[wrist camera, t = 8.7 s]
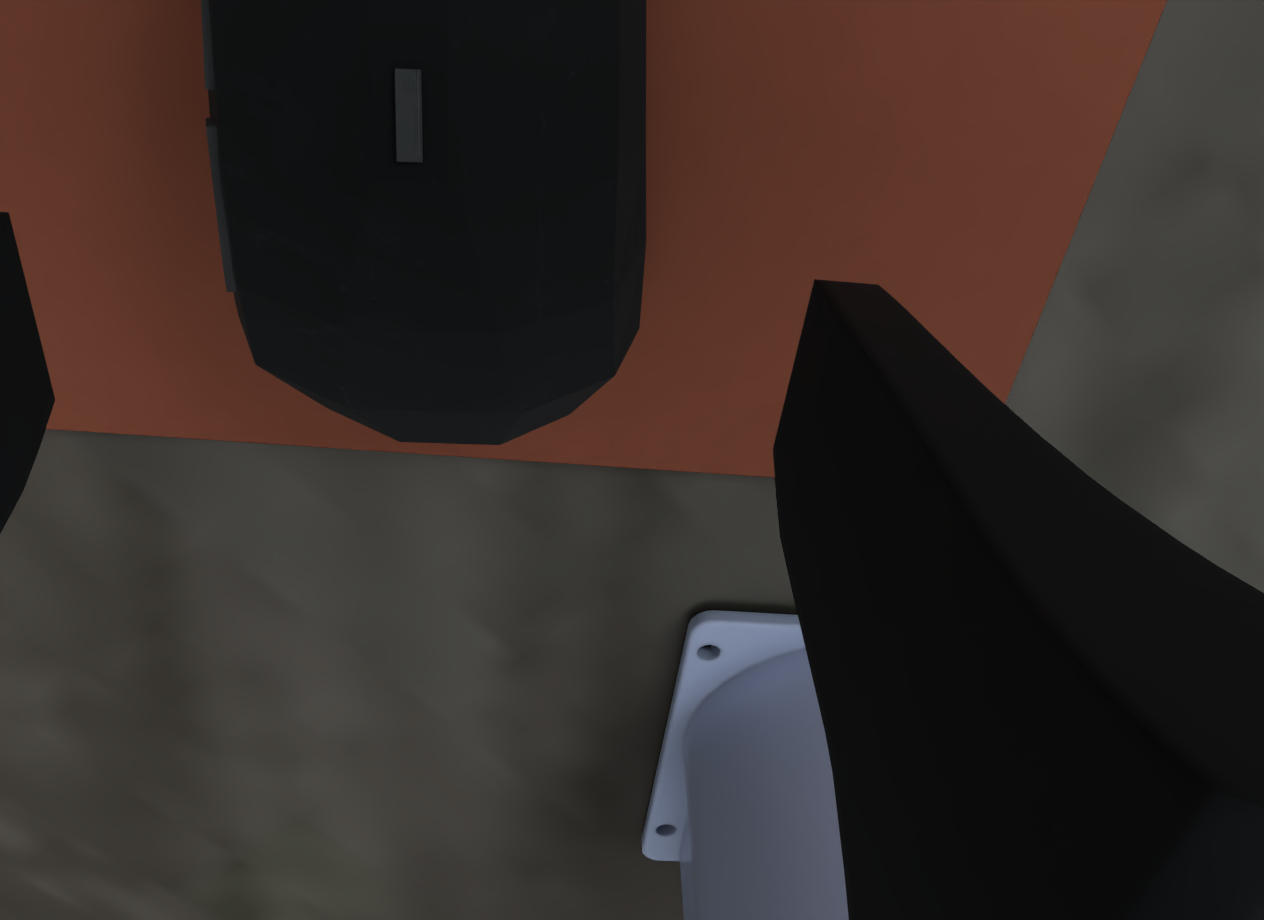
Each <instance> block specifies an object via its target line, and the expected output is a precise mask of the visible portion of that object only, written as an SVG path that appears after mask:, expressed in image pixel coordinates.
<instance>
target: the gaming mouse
mask: <svg viewBox="0 0 1264 920" xmlns="http://www.w3.org/2000/svg"><path fill="white" fill-rule="evenodd" d="M201 13H202V34H203V55H204V76H205V89H208V99H209V114H210V118H206V133H207V142H208V150H209V158H210V166H211V174H212V182H213V191H214V199H215V207H216V215H217V223H218V232H219V240H220V248H221V256H222V263H223V271H224V278H225V285H226V289H227V292H233V294H234V298H235V303H236V307H237V312H238V316H239V319H240V322H241V325H242V328H243V330H244V333H245V336H246V339H247V342H248V345H249V348H250V351H251V353H252V356H253V359H254V362H255V365H257V366H258V367H260V368H262V369H263V370H265V371H267V372H268V373H270V374H272V375H273V376H275V377H276V378H278V379H280V380H281V381H283V382H285V383H286V384H288V385H290V386H291V387H293V388H295V389H296V390H298V391H300V392H301V393H303V394H304V395H306V396H308V397H309V398H311V399H313V400H314V401H316V402H318V403H319V404H321V405H323V406H324V407H326V408H328V409H330V410H332V411H334V412H336V413H339V414H341V415H343V416H345V417H347V418H349V419H351V420H354V421H356V422H358V423H360V424H362V425H364V426H366V427H369V428H371V429H373V430H375V431H377V432H379V433H381V434H384V435H386V436H388V437H390V438H392V439H394V440H396V441H399V442H413V443H446V444H478V445H502V444H504V443H506V442H508V441H511V440H513V439H515V438H518V437H520V436H522V435H524V434H527V433H529V432H531V431H534V430H536V429H538V428H540V427H543V426H545V425H547V424H549V423H552V422H554V421H556V420H559V419H561V418H563V417H565V416H568V415H570V414H571V413H572V412H573V411H574V410H576V409H577V408H578V407H579V406H580V405H581V404H583V403H584V402H585V401H586V400H587V399H588V398H590V397H591V396H592V395H593V394H594V393H595V392H597V391H598V390H599V389H600V388H601V387H602V386H604V385H605V384H606V383H607V382H608V381H609V380H611V379H612V378H613V377H614V376H615V375H616V373H617V371H618V369H619V367H620V365H621V363H622V361H623V359H624V357H625V355H626V353H627V352H628V350H629V348H630V346H631V344H632V342H633V340H634V338H635V336H636V334H637V332H638V330H639V329H640V316H641V303H642V290H643V277H644V265H645V252H646V0H201Z"/></svg>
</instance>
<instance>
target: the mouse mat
mask: <svg viewBox="0 0 1264 920" xmlns="http://www.w3.org/2000/svg"><path fill="white" fill-rule="evenodd" d="M1166 2H1167V0H646V252H645V265H644V277H643V290H642V303H641V316H640V329H639V330H638V332H637V334H636V336H635V338H634V340H633V342H632V344H631V346H630V348H629V350H628V352H627V353H626V355H625V357H624V359H623V361H622V363H621V365H620V367H619V369H618V371H617V373H616V375H615V376H614V377H613V378H612V379H611V380H609V381H608V382H607V383H606V384H605V385H604V386H602V387H601V388H600V389H599V390H598V391H597V392H595V393H594V394H593V395H592V396H591V397H590V398H588V399H587V400H586V401H585V402H584V403H583V404H581V405H580V406H579V407H578V408H577V409H576V410H574V411H573V412H572V413H571V414H570V415H568V416H565V417H563V418H561V419H559V420H556V421H554V422H552V423H549V424H547V425H545V426H543V427H540V428H538V429H536V430H534V431H531V432H529V433H527V434H524V435H522V436H520V437H518V438H515V439H513V440H511V441H508V442H506V443H504V444H502V445H478V444H446V443H413V442H399V441H396V440H394V439H392V438H390V437H388V436H386V435H384V434H381V433H379V432H377V431H375V430H373V429H371V428H369V427H366V426H364V425H362V424H360V423H358V422H356V421H354V420H351V419H349V418H347V417H345V416H343V415H341V414H339V413H336V412H334V411H332V410H330V409H328V408H326V407H324V406H323V405H321V404H319V403H318V402H316V401H314V400H313V399H311V398H309V397H308V396H306V395H304V394H303V393H301V392H300V391H298V390H296V389H295V388H293V387H291V386H290V385H288V384H286V383H285V382H283V381H281V380H280V379H278V378H276V377H275V376H273V375H272V374H270V373H268V372H267V371H265V370H263V369H262V368H260V367H258V366H257V365H255V362H254V359H253V356H252V353H251V351H250V348H249V345H248V342H247V339H246V336H245V333H244V330H243V328H242V325H241V322H240V319H239V316H238V312H237V307H236V303H235V298H234V294H233V292H227V289H226V285H225V278H224V271H223V263H222V256H221V248H220V240H219V232H218V223H217V215H216V207H215V199H214V191H213V182H212V174H211V166H210V158H209V150H208V142H207V133H206V118H210V114H209V99H208V89H205V76H204V55H203V34H202V13H201V0H0V212H9V215H10V219H11V223H12V227H13V231H14V235H15V239H16V243H17V248H18V252H19V256H20V260H21V264H22V268H23V272H24V276H25V280H26V284H27V288H28V292H29V296H30V300H31V304H32V308H33V312H34V316H35V320H36V324H37V328H38V332H39V336H40V340H41V344H42V348H43V352H44V356H45V360H46V364H47V368H48V372H49V376H50V380H51V384H52V388H53V392H54V396H55V403H54V406H53V409H52V412H51V415H50V418H49V421H48V424H47V427H46V429H56V430H71V431H86V432H101V433H116V434H131V435H146V436H161V437H176V438H191V439H206V440H221V441H236V442H250V443H265V444H280V445H295V446H310V447H325V448H340V449H355V450H370V451H385V452H400V453H415V454H430V455H445V456H460V457H475V458H490V459H505V460H520V461H535V462H550V463H565V464H579V465H594V466H609V467H624V468H639V469H654V470H669V471H684V472H699V473H714V474H729V475H744V476H759V477H774V478H775V472H774V459H773V446H774V442H775V438H776V434H777V430H778V426H779V422H780V418H781V413H782V409H783V405H784V401H785V397H786V393H787V389H788V385H789V381H790V377H791V373H792V368H793V364H794V360H795V356H796V352H797V348H798V344H799V340H800V336H801V332H802V328H803V324H804V319H805V315H806V311H807V307H808V303H809V299H810V295H811V291H812V287H813V283H814V279H817V280H829V281H841V282H854V283H866V284H878V285H879V286H881V287H882V288H883V289H884V290H885V291H887V292H888V293H889V294H890V295H891V296H892V297H893V298H895V299H896V300H897V301H898V302H899V303H900V304H901V305H902V306H903V307H904V308H905V309H906V310H907V311H908V312H909V313H910V314H911V315H912V316H914V317H915V318H916V319H917V320H918V321H919V322H920V323H921V324H922V325H923V326H924V327H925V328H926V329H927V330H928V331H929V332H930V333H931V334H932V335H933V336H934V337H935V338H936V339H937V340H938V341H939V342H940V343H941V344H942V345H943V346H944V347H945V348H946V349H947V350H948V351H949V352H950V353H951V354H952V355H953V356H954V357H955V358H956V359H957V360H958V361H959V362H961V363H962V364H963V365H964V366H965V367H966V368H967V369H968V370H969V371H970V372H971V373H972V374H973V375H974V376H975V377H976V378H977V379H978V380H979V381H980V382H981V383H982V384H984V385H985V386H986V387H987V388H988V389H989V390H990V391H991V392H992V393H993V394H994V395H995V396H996V397H997V398H998V399H1000V400H1001V401H1002V402H1003V403H1004V404H1005V402H1006V400H1007V397H1008V395H1009V392H1010V390H1011V387H1012V385H1013V382H1014V380H1015V377H1016V375H1017V372H1018V370H1019V367H1020V365H1021V362H1022V360H1023V357H1024V355H1025V352H1026V350H1027V347H1028V345H1029V342H1030V340H1031V337H1032V335H1033V332H1034V330H1035V328H1036V325H1037V323H1038V320H1039V318H1040V315H1041V313H1042V310H1043V308H1044V305H1045V303H1046V300H1047V298H1048V295H1049V293H1050V290H1051V288H1052V285H1053V283H1054V280H1055V278H1056V275H1057V273H1058V270H1059V268H1060V265H1061V263H1062V260H1063V258H1064V255H1065V253H1066V251H1067V248H1068V246H1069V243H1070V241H1071V238H1072V236H1073V233H1074V231H1075V228H1076V226H1077V223H1078V221H1079V218H1080V216H1081V213H1082V211H1083V208H1084V206H1085V203H1086V201H1087V198H1088V196H1089V193H1090V191H1091V188H1092V186H1093V183H1094V181H1095V179H1096V176H1097V174H1098V171H1099V169H1100V166H1101V164H1102V161H1103V159H1104V156H1105V154H1106V151H1107V149H1108V146H1109V144H1110V141H1111V139H1112V136H1113V134H1114V131H1115V129H1116V126H1117V124H1118V121H1119V119H1120V116H1121V114H1122V111H1123V109H1124V106H1125V104H1126V102H1127V99H1128V97H1129V94H1130V92H1131V89H1132V87H1133V84H1134V82H1135V79H1136V77H1137V74H1138V72H1139V69H1140V67H1141V64H1142V62H1143V59H1144V57H1145V54H1146V52H1147V49H1148V47H1149V44H1150V42H1151V39H1152V37H1153V34H1154V32H1155V29H1156V27H1157V25H1158V22H1159V20H1160V17H1161V15H1162V12H1163V10H1164V7H1165V5H1166Z"/></svg>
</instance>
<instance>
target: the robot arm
mask: <svg viewBox="0 0 1264 920" xmlns="http://www.w3.org/2000/svg"><path fill="white" fill-rule="evenodd" d="M54 403H55V396H54V392H53V388H52V384H51V380H50V376H49V372H48V368H47V364H46V360H45V356H44V352H43V348H42V344H41V340H40V336H39V332H38V328H37V324H36V320H35V316H34V312H33V308H32V304H31V300H30V296H29V292H28V288H27V284H26V280H25V276H24V272H23V268H22V264H21V260H20V256H19V252H18V248H17V243H16V239H15V235H14V231H13V227H12V223H11V219H10V215H9V212H0V533H1V531H2V529H3V528H4V526H5V524H6V522H7V520H8V518H9V517H10V515H11V513H12V511H13V509H14V507H15V505H16V503H17V501H18V500H19V498H20V496H21V494H22V492H23V490H24V487H25V485H26V482H27V479H28V477H29V474H30V471H31V469H32V466H33V464H34V461H35V458H36V456H37V453H38V450H39V447H40V444H41V441H42V438H43V435H44V432H45V429H46V427H47V424H48V421H49V418H50V415H51V412H52V409H53V406H54ZM773 459H774V472H775V485H776V498H777V509H778V519H779V529H780V538H781V543H782V547H783V552H784V557H785V561H786V566H787V570H788V574H789V579H790V583H791V588H792V592H793V597H794V601H795V605H796V610H797V614H798V615H793V614H774V613H756V612H738V611H720V610H710V611H704V612H701V613H699V614H697V615H696V616H694V617H693V618H692V619H691V620H690V622H689V624H688V629H687V633H686V638H685V642H684V647H683V652H682V656H681V661H680V665H679V670H678V674H677V679H676V684H675V688H674V693H673V697H672V702H671V706H670V711H669V716H668V720H667V725H666V729H665V734H664V738H663V743H662V748H661V752H660V757H659V761H658V766H657V770H656V775H655V780H654V784H653V789H652V793H651V798H650V802H649V807H648V812H647V816H646V821H645V825H644V830H643V834H642V853H643V854H644V855H645V856H646V857H647V858H650V859H652V860H658V861H680V873H681V887H682V901H683V915H684V920H1264V593H1262V592H1261V591H1259V590H1257V589H1256V588H1254V587H1252V586H1250V585H1249V584H1247V583H1245V582H1244V581H1242V580H1240V579H1239V578H1237V577H1235V576H1234V575H1232V574H1230V573H1228V572H1227V571H1225V570H1223V569H1222V568H1220V567H1218V566H1217V565H1215V564H1214V563H1212V562H1211V561H1209V560H1207V559H1206V558H1204V557H1203V556H1201V555H1200V554H1198V553H1197V552H1195V551H1193V550H1192V549H1190V548H1189V547H1187V546H1186V545H1184V544H1183V543H1181V542H1180V541H1178V540H1177V539H1175V538H1174V537H1172V536H1171V535H1169V534H1168V533H1167V532H1165V531H1164V530H1162V529H1161V528H1160V527H1158V526H1157V525H1155V524H1154V523H1152V522H1151V521H1150V520H1148V519H1147V518H1145V517H1144V516H1142V515H1141V514H1140V513H1138V512H1137V511H1135V510H1134V509H1132V508H1131V507H1130V506H1128V505H1127V504H1125V503H1124V502H1123V501H1121V500H1120V499H1118V498H1117V497H1116V496H1114V495H1113V494H1112V493H1110V492H1109V491H1108V490H1106V489H1105V488H1104V487H1102V486H1101V485H1100V484H1099V483H1097V482H1096V481H1095V480H1093V479H1092V478H1091V477H1089V476H1088V475H1087V474H1086V473H1084V472H1083V471H1082V470H1081V469H1080V468H1078V467H1077V466H1076V465H1075V464H1074V463H1072V462H1071V461H1070V460H1069V459H1068V458H1066V457H1065V456H1064V455H1063V454H1062V453H1060V452H1059V451H1058V450H1057V449H1056V448H1054V447H1053V446H1052V445H1051V444H1049V443H1048V442H1047V441H1046V440H1045V439H1043V438H1042V437H1041V436H1040V435H1039V434H1037V433H1036V432H1035V431H1034V430H1033V429H1032V428H1031V427H1030V426H1028V425H1027V424H1026V423H1025V422H1024V421H1023V420H1022V419H1021V418H1019V417H1018V416H1017V415H1016V414H1015V413H1014V412H1013V411H1012V410H1010V409H1009V408H1008V407H1007V406H1006V405H1005V404H1004V403H1003V402H1002V401H1001V400H1000V399H998V398H997V397H996V396H995V395H994V394H993V393H992V392H991V391H990V390H989V389H988V388H987V387H986V386H985V385H984V384H982V383H981V382H980V381H979V380H978V379H977V378H976V377H975V376H974V375H973V374H972V373H971V372H970V371H969V370H968V369H967V368H966V367H965V366H964V365H963V364H962V363H961V362H959V361H958V360H957V359H956V358H955V357H954V356H953V355H952V354H951V353H950V352H949V351H948V350H947V349H946V348H945V347H944V346H943V345H942V344H941V343H940V342H939V341H938V340H937V339H936V338H935V337H934V336H933V335H932V334H931V333H930V332H929V331H928V330H927V329H926V328H925V327H924V326H923V325H922V324H921V323H920V322H919V321H918V320H917V319H916V318H915V317H914V316H912V315H911V314H910V313H909V312H908V311H907V310H906V309H905V308H904V307H903V306H902V305H901V304H900V303H899V302H898V301H897V300H896V299H895V298H893V297H892V296H891V295H890V294H889V293H888V292H887V291H885V290H884V289H883V288H882V287H881V286H879V285H878V284H866V283H854V282H841V281H829V280H817V279H814V283H813V287H812V291H811V295H810V299H809V303H808V307H807V311H806V315H805V319H804V324H803V328H802V332H801V336H800V340H799V344H798V348H797V352H796V356H795V360H794V364H793V368H792V373H791V377H790V381H789V385H788V389H787V393H786V397H785V401H784V405H783V409H782V413H781V418H780V422H779V426H778V430H777V434H776V438H775V442H774V446H773ZM704 645H713V646H709V647H703V646H704Z"/></svg>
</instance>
